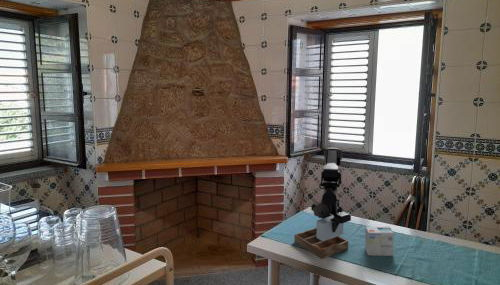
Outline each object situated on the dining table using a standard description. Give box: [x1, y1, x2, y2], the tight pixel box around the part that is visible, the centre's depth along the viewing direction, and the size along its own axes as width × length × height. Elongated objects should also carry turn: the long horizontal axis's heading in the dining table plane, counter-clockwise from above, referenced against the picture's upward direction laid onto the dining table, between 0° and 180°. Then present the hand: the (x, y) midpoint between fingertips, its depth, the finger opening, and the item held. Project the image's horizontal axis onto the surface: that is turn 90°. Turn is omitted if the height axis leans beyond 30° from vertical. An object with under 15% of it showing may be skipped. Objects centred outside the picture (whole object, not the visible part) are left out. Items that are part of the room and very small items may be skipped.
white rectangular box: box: [316, 215, 344, 241], centre depth 156 cm, size 12×4×8 cm, turn 121°
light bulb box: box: [364, 225, 395, 257], centre depth 154 cm, size 11×7×11 cm, turn 84°
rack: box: [293, 226, 349, 259], centre depth 162 cm, size 16×19×4 cm
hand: (330, 230), depth 156 cm, fingers closed on white rectangular box, 4 cm apart
